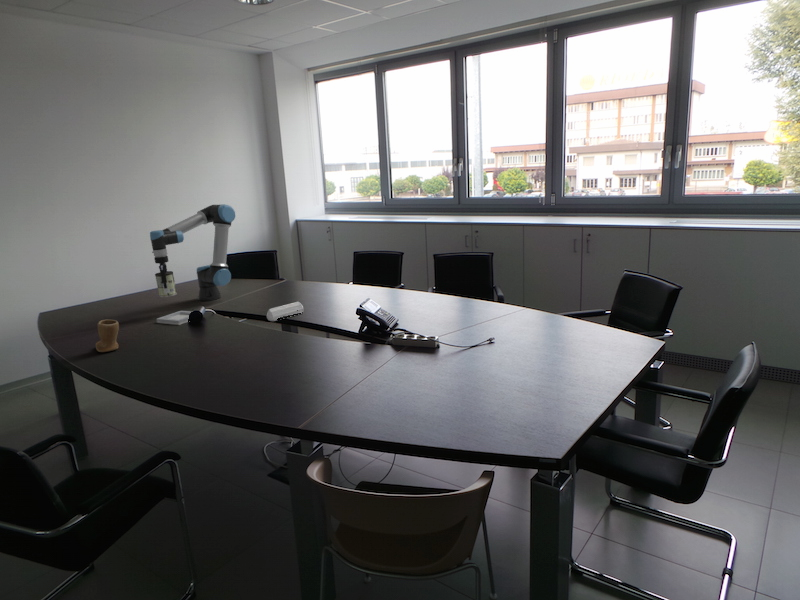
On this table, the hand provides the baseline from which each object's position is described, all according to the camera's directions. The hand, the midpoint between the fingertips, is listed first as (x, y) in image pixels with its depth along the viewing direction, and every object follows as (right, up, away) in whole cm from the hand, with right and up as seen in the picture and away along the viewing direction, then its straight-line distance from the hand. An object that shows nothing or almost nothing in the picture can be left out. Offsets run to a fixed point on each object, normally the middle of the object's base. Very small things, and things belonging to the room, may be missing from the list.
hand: (167, 291), depth 325 cm
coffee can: (0, -2, +1) cm, 3 cm away
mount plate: (+13, -17, -11) cm, 24 cm away
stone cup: (-3, -30, -59) cm, 66 cm away
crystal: (+77, -15, -18) cm, 81 cm away
